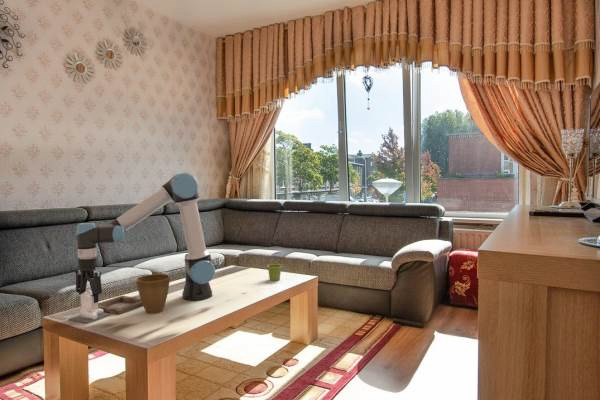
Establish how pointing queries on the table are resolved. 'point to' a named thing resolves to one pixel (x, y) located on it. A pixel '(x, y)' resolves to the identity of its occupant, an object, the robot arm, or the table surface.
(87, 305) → the white creature statuette
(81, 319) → the slate mat
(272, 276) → the plant pot
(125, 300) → the pocket frame
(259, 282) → the table surface
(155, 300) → the plant pot
